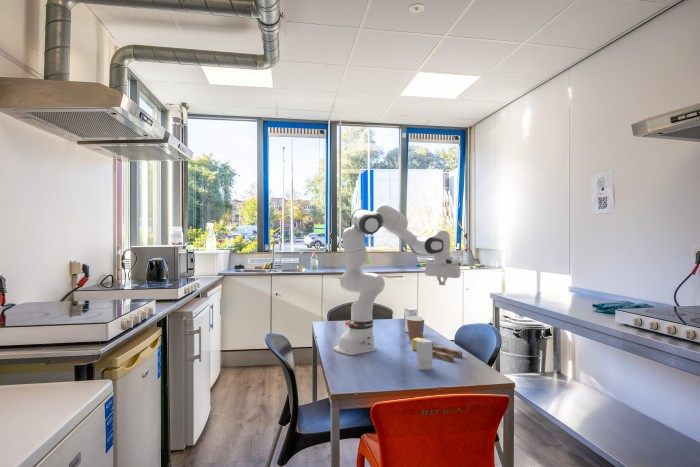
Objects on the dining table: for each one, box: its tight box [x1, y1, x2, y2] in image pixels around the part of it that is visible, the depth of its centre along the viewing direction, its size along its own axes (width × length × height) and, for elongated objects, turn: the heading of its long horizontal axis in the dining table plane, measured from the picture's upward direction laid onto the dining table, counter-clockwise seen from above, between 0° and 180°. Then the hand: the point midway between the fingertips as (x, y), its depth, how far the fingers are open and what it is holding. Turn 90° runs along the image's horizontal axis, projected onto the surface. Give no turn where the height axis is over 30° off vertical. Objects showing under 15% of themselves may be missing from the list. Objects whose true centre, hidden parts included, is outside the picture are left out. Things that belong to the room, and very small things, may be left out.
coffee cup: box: [407, 315, 426, 342], centre depth 206 cm, size 10×10×12 cm
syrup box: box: [403, 307, 418, 334], centre depth 223 cm, size 6×6×14 cm
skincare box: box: [416, 339, 433, 371], centre depth 160 cm, size 6×4×12 cm
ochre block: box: [411, 337, 427, 351], centre depth 187 cm, size 6×5×5 cm
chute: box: [432, 342, 463, 363], centre depth 179 cm, size 17×11×3 cm, turn 46°
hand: (442, 285), depth 201 cm, fingers closed
